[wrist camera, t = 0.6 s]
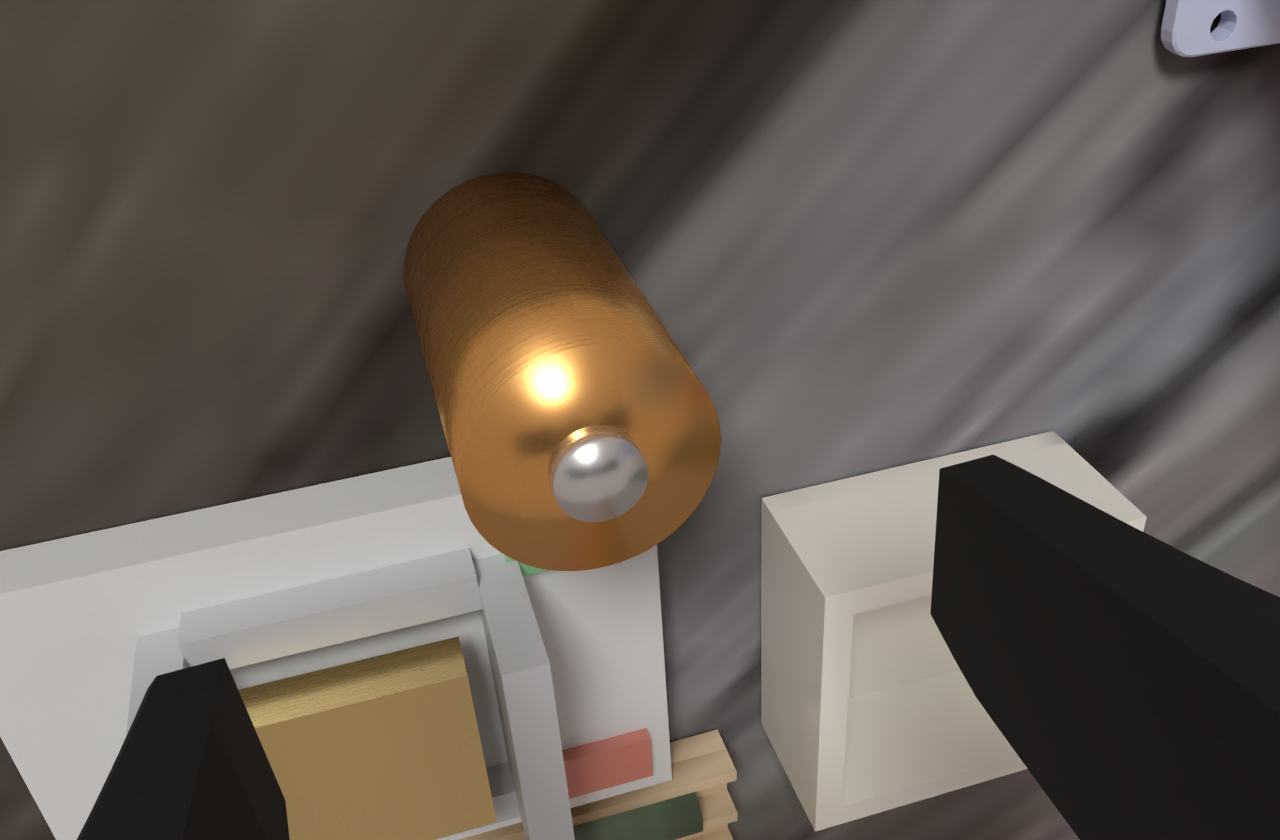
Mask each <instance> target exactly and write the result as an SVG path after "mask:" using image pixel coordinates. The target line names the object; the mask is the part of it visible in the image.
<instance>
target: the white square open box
mask: <svg viewBox="0 0 1280 840" xmlns="http://www.w3.org/2000/svg"><path fill="white" fill-rule="evenodd" d="M989 455H995V456H998V457H1000V458H1002V459H1004V460H1006V461H1008V462H1010V463H1012V464H1014V465H1016V466H1018V467H1020V468H1022V469H1024V470H1026V471H1028V472H1030V473H1032V474H1034V475H1036V476H1038V477H1040V478H1042V479H1043V480H1045V481H1047V482H1049V483H1051V484H1053V485H1055V486H1057V487H1059V488H1061V489H1062V490H1064V491H1066V492H1068V493H1070V494H1072V495H1074V496H1076V497H1078V498H1079V499H1081V500H1083V501H1085V502H1087V503H1089V504H1091V505H1093V506H1095V507H1096V508H1098V509H1100V510H1102V511H1104V512H1106V513H1108V514H1110V515H1112V516H1113V517H1115V518H1117V519H1119V520H1121V521H1123V522H1125V523H1127V524H1129V525H1131V526H1133V527H1135V528H1137V529H1138V530H1140V531H1142V532H1143V530H1144V526H1145V522H1146V518H1147V517H1146V516H1145V515H1144V514H1143V513H1142V512H1141V511H1140V510H1139V509H1137V508H1136V507H1135V506H1134V505H1133V504H1132V503H1131V502H1130V501H1129V500H1128V499H1127V498H1126V497H1124V496H1123V495H1122V494H1121V493H1120V492H1119V491H1118V490H1117V489H1116V488H1115V487H1114V486H1113V485H1111V484H1110V483H1109V482H1108V481H1107V480H1106V479H1105V478H1104V477H1103V476H1102V475H1101V474H1099V473H1098V472H1097V471H1096V470H1095V469H1094V468H1093V467H1092V466H1091V465H1090V464H1089V463H1088V462H1086V461H1085V460H1084V459H1083V458H1082V457H1081V456H1080V455H1079V454H1078V453H1077V452H1076V451H1075V450H1073V449H1072V448H1071V447H1070V446H1069V445H1068V444H1067V443H1066V442H1065V441H1064V440H1063V439H1062V438H1060V437H1059V436H1058V435H1057V434H1056V433H1055V432H1054V431H1051V432H1046V433H1042V434H1038V435H1033V436H1029V437H1025V438H1020V439H1016V440H1011V441H1007V442H1003V443H998V444H994V445H990V446H985V447H981V448H977V449H972V450H968V451H964V452H959V453H955V454H951V455H946V456H942V457H938V458H933V459H929V460H925V461H920V462H916V463H911V464H907V465H903V466H898V467H894V468H890V469H885V470H881V471H877V472H872V473H868V474H864V475H859V476H855V477H851V478H846V479H842V480H838V481H833V482H829V483H824V484H820V485H816V486H811V487H807V488H803V489H798V490H794V491H790V492H785V493H781V494H777V495H772V496H768V497H764V498H762V505H761V724H762V726H763V728H764V730H765V732H766V734H767V736H768V738H769V740H770V742H771V744H772V746H773V748H774V750H775V752H776V754H777V756H778V758H779V760H780V762H781V764H782V766H783V768H784V770H785V772H786V774H787V776H788V778H789V780H790V782H791V784H792V786H793V788H794V790H795V792H796V794H797V796H798V798H799V800H800V802H801V804H802V806H803V808H804V810H805V812H806V814H807V816H808V818H809V820H810V822H811V824H812V826H813V828H814V830H815V832H816V831H819V830H822V829H826V828H829V827H833V826H836V825H839V824H843V823H846V822H849V821H853V820H856V819H860V818H863V817H866V816H870V815H873V814H877V813H880V812H883V811H887V810H890V809H893V808H897V807H900V806H904V805H907V804H910V803H914V802H917V801H920V800H924V799H927V798H931V797H934V796H937V795H941V794H944V793H947V792H951V791H954V790H958V789H961V788H964V787H968V786H971V785H975V784H978V783H981V782H985V781H988V780H991V779H995V778H998V777H1002V776H1005V775H1008V774H1012V773H1015V772H1018V771H1022V770H1025V769H1028V768H1027V767H1026V766H1025V764H1024V763H1023V762H1022V760H1021V759H1020V758H1019V756H1018V755H1017V753H1016V752H1015V751H1014V749H1013V748H1012V747H1011V745H1010V744H1009V742H1008V741H1007V740H1006V738H1005V737H1004V736H1003V734H1002V733H1001V731H1000V730H999V729H998V727H997V726H996V724H995V723H994V722H993V720H992V719H991V718H990V716H989V715H988V713H987V712H986V711H985V709H984V708H983V706H982V705H981V703H980V702H979V701H978V699H977V698H976V696H975V695H974V693H973V691H972V689H971V688H970V686H969V684H968V682H967V681H966V679H965V677H964V675H963V674H962V672H961V670H960V668H959V667H958V665H957V663H956V661H955V660H954V658H953V656H952V654H951V652H950V650H949V648H948V646H947V644H946V643H945V641H944V639H943V637H942V635H941V633H940V631H939V629H938V627H937V626H936V624H935V622H934V620H933V618H932V616H931V614H930V612H931V596H932V580H933V565H934V549H935V533H936V517H937V502H938V486H939V470H940V468H944V467H948V466H952V465H955V464H959V463H963V462H967V461H971V460H974V459H978V458H982V457H986V456H989Z"/></svg>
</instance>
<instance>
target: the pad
mask: <svg viewBox="0 0 1280 840" xmlns="http://www.w3.org/2000/svg"><path fill="white" fill-rule="evenodd" d="M239 693H240V695H241V697H242V700H243V702H244V704H245V707H246V709H247V711H248V714H249V716H250V719H251V721H252V723H253V726H254V728H255V730H256V733H257V735H258V737H259V740H260V742H261V744H262V747H263V749H264V751H265V754H266V756H267V758H268V761H269V763H270V765H271V768H272V770H273V772H274V775H275V777H276V779H277V782H278V784H279V786H280V789H281V791H282V793H283V796H284V798H285V801H286V810H287V819H288V828H289V837H290V840H435V839H438V838H442V837H445V836H449V835H453V834H456V833H460V832H463V831H467V830H471V829H474V828H478V827H481V826H485V825H489V824H492V823H496V822H497V821H496V816H495V811H494V806H493V801H492V796H491V791H490V785H489V780H488V775H487V770H486V765H485V760H484V755H483V750H482V745H481V740H480V735H479V730H478V725H477V720H476V715H475V710H474V705H473V700H472V695H471V690H470V685H469V680H468V675H467V671H466V666H465V662H464V657H463V653H462V649H461V644H460V640H459V636H458V637H454V638H450V639H446V640H442V641H437V642H433V643H429V644H425V645H421V646H417V647H413V648H409V649H404V650H400V651H396V652H392V653H388V654H384V655H380V656H375V657H371V658H367V659H363V660H359V661H355V662H351V663H347V664H342V665H338V666H334V667H330V668H326V669H322V670H318V671H314V672H309V673H305V674H301V675H297V676H293V677H289V678H285V679H281V680H276V681H272V682H268V683H264V684H260V685H256V686H252V687H248V688H243V689H239Z"/></svg>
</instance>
